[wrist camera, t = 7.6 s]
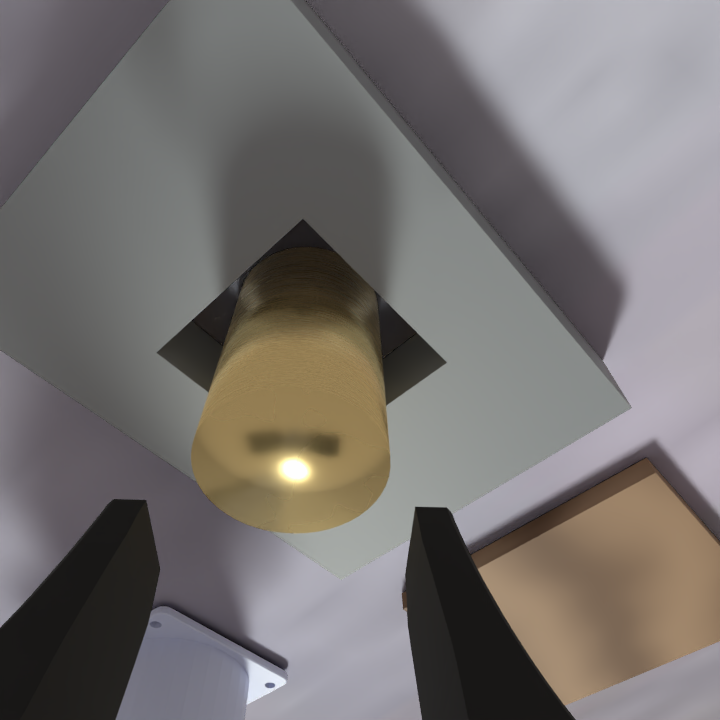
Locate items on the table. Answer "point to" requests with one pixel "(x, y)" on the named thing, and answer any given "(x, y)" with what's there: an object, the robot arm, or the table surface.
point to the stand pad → (608, 583)
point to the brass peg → (297, 399)
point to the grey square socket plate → (260, 233)
